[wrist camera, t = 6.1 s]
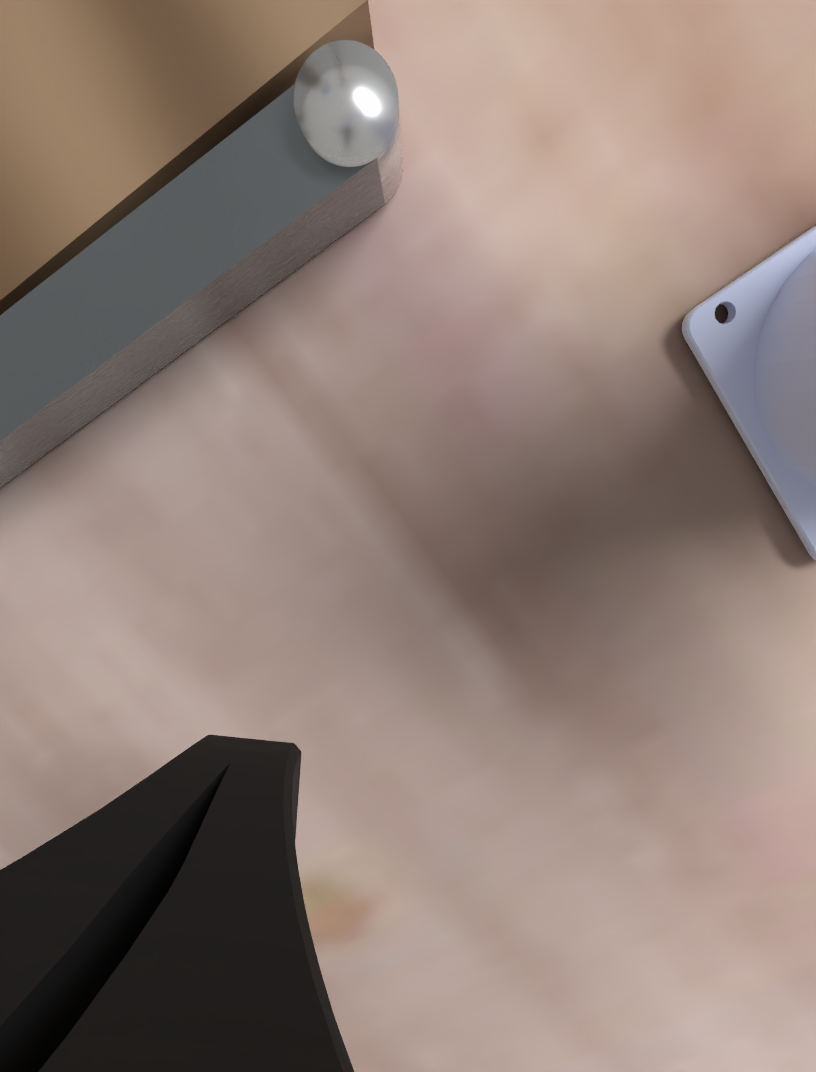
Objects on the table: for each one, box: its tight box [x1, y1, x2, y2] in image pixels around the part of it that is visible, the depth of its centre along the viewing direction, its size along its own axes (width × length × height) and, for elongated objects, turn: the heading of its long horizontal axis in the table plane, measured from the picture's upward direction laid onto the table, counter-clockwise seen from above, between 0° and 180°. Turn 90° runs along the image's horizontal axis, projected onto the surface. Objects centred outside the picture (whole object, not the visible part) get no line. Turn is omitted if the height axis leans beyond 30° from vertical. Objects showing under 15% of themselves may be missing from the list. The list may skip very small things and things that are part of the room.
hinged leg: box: [0, 40, 403, 487], centre depth 14 cm, size 15×2×4 cm, turn 124°
